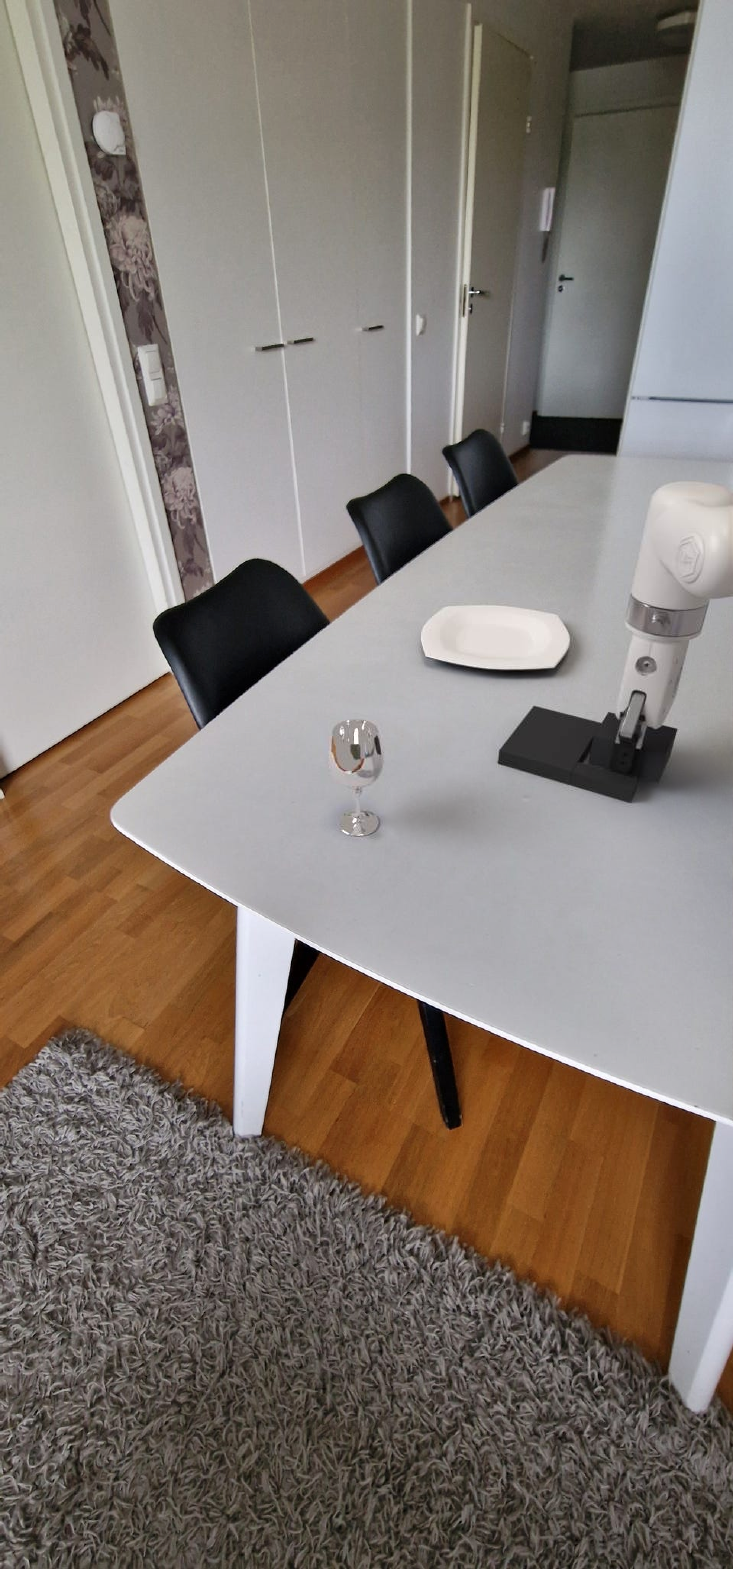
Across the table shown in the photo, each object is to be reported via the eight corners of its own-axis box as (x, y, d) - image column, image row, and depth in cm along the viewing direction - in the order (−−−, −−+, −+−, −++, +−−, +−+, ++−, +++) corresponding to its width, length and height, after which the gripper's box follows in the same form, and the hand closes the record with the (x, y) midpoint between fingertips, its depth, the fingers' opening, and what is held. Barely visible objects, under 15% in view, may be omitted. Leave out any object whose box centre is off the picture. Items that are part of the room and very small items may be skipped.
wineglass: (322, 830, 77) (315, 738, 69) (348, 801, 81) (343, 711, 73) (369, 846, 74) (367, 753, 67) (393, 815, 78) (393, 724, 71)
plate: (567, 687, 101) (569, 674, 99) (408, 672, 105) (408, 660, 104) (569, 621, 118) (570, 610, 117) (433, 611, 123) (433, 600, 122)
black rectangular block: (669, 757, 83) (677, 728, 81) (658, 783, 79) (666, 754, 77) (602, 739, 87) (608, 711, 84) (588, 763, 83) (593, 735, 80)
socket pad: (654, 750, 87) (658, 737, 86) (630, 803, 79) (633, 789, 78) (532, 718, 94) (533, 705, 93) (497, 763, 86) (499, 750, 85)
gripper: (686, 654, 65) (645, 807, 75) (718, 591, 76) (678, 731, 87) (605, 638, 68) (576, 786, 79) (647, 580, 80) (617, 716, 90)
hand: (630, 756), depth 83 cm, fingers closed on black rectangular block, 6 cm apart
